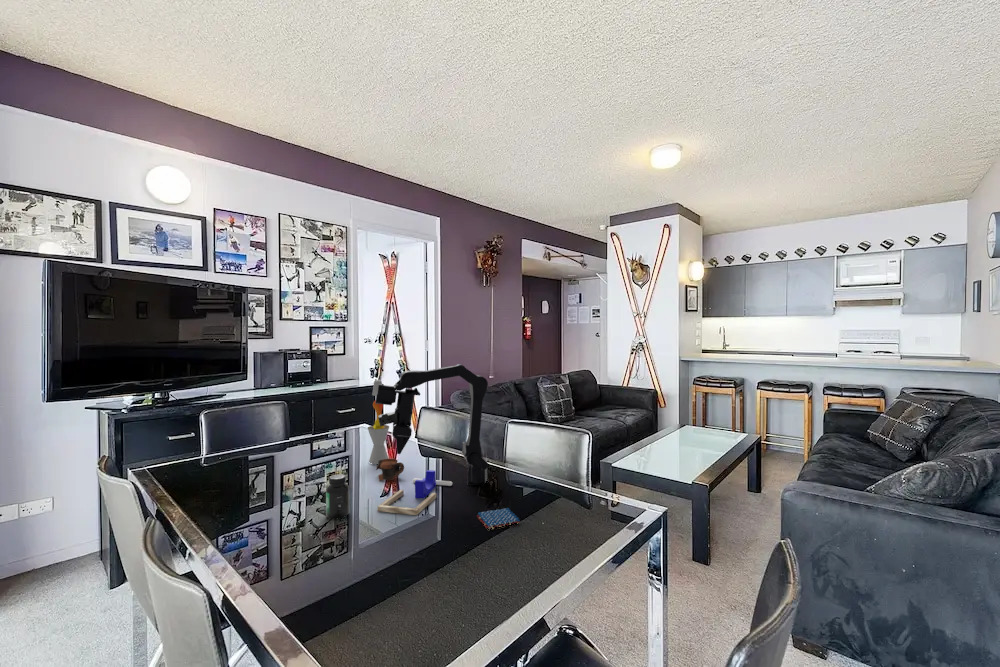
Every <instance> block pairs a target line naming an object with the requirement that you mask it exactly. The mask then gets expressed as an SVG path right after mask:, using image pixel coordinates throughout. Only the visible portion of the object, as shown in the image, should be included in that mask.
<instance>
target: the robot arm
mask: <svg viewBox="0 0 1000 667" xmlns="http://www.w3.org/2000/svg"><path fill="white" fill-rule="evenodd" d="M399 377H400V378H399V380H398V381H397V382H395V384H394V385H385V384H383V383H382V384H379V385H378V392H377V395H376V396H375V400H376V402H375V404H383V406H384V405H385V406H393V404H394V403H396V408H394V411H392V412H387V413H381V415H379V416H378V419H379V423H380V426H384V425H389V424H392V437H393V438H395V440H396V454H397V455H401V453H402V452H403V451H404V449H405V447H406V445H407V443H408V441H409V440H410V438H411V437H412V432H413V429H412V427H411V426H412V417H413V413H414V412H413V411H414V403H415V396H421V393H420V391H419V390H418V388H417V387H418V386H421V385H422V384H425V383H427V382H431V381H438V380H443V379H449V378H454V377H460V378H461V379H463V380H464V381H466V382H467V383H468V385H469V394H470V399H471V400H470V409H469V410H470V412H469V424H468V435H467V439H466V441H462V450H461V453H462V456H463V458H464V460H465V461H466V462H467V463H468V465H469V466H468V469H467V472H466V474H467V477H466V478H467V479H466V480H467V481H466V482H467V483H466V485H467V486H473V485H483V484H485V483H486V481H487V479H488V465H489V463H488V462H487V461H486V459H485V457H484V456H483V452H482V446H481V438H480V437H481V424H482V423H481V422H482V415H483V414H482V413H483V402H484V398H485V397H486V395H487V390H488V387H489V386H488V385H489V382H488V380H487V378H485V377H484V376H482V375H480V374H475V373H473V371H471V370H469V369H468V368H466V367H465V365H463V364H458V363H457V364H456V365H450V366H446V367H445V366H444V367H439V368H433V369H429V370H405V371H403V372H402V373H401V374H400V376H399ZM412 388H413V389H412Z"/></svg>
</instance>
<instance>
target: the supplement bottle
mask: <svg viewBox="0 0 1000 667" xmlns="http://www.w3.org/2000/svg"><path fill="white" fill-rule="evenodd" d="M346 482H347V478H346V475H345V474H343V473H342V474H341V473H339V474H333V475H331V476H329V477H328V484H329V485H328V486H326V488H325V515H326V518H327V517H328V519H329V518H330V520H338V519H337V518H341V517H344V516H346V515H348V514H349V515H350V508H351V507H350V505H351V504H350V485H349V484H348V483H346ZM349 515H348V516H349ZM346 517H347V516H346ZM344 518H345V517H344ZM341 519H342V518H341Z"/></svg>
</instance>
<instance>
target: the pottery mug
mask: <svg viewBox="0 0 1000 667" xmlns="http://www.w3.org/2000/svg"><path fill="white" fill-rule="evenodd" d="M378 469H379V470H381V474H379V475H378V481H379V482H380V481H394V480H395V477H399V476H400V475H401V474H402V473H403V472H404V469H405V465H404V463H403V462H399V461H398V460H397V459H396V458H389V459H383V460H380V461H378V465H376V469H375V470H376V471H377V470H378Z"/></svg>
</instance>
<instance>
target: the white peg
mask: <svg viewBox="0 0 1000 667" xmlns="http://www.w3.org/2000/svg"><path fill="white" fill-rule="evenodd" d="M422 479H423V478H412V483H413V484H415V481H416V480H422ZM436 485H437V486H445V487H447V486H448V487H451V486H452V485H453V482H452V481H450V480H437V479H436Z"/></svg>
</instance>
